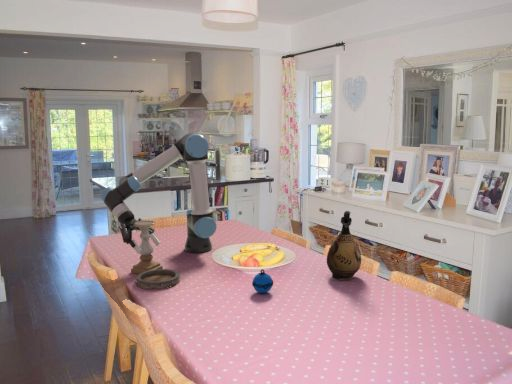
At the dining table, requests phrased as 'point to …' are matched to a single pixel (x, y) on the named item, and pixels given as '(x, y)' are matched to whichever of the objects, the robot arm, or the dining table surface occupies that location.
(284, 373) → the dining table surface
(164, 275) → the tray
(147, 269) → the candle holder
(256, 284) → the ornament
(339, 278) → the ceramic jug
